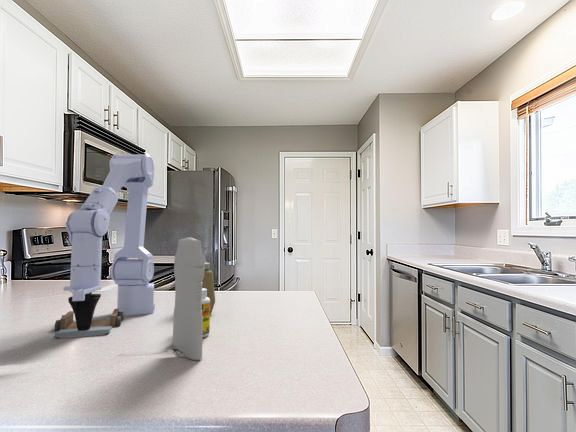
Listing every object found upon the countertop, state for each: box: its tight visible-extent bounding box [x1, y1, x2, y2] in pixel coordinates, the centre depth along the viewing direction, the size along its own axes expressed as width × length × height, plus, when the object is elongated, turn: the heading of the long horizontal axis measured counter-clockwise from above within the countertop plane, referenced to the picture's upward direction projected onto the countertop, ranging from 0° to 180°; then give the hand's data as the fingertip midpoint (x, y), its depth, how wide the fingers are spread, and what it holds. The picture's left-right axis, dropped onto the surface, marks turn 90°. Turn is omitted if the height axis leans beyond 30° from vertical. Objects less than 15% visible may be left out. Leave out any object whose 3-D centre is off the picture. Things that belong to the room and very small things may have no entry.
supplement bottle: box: [202, 288, 211, 339], centre depth 81 cm, size 6×6×10 cm
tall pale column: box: [172, 236, 206, 362], centre depth 69 cm, size 11×4×22 cm, turn 44°
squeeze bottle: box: [201, 249, 216, 315], centre depth 102 cm, size 8×8×18 cm
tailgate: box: [53, 326, 113, 339], centre depth 77 cm, size 10×1×6 cm
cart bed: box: [53, 308, 124, 332], centre depth 85 cm, size 13×8×4 cm, turn 110°
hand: (83, 329), depth 77 cm, fingers closed
